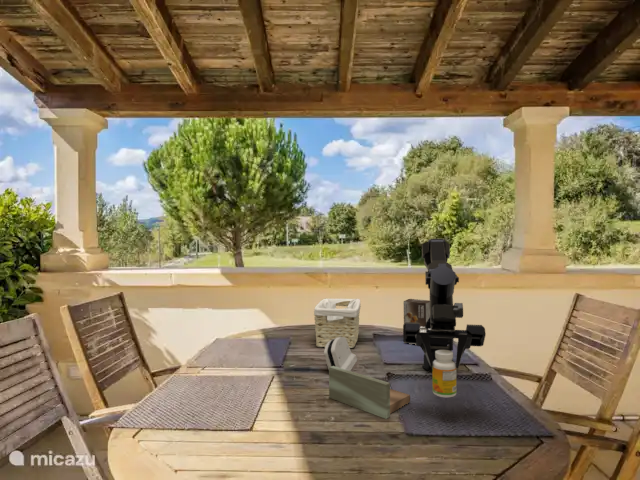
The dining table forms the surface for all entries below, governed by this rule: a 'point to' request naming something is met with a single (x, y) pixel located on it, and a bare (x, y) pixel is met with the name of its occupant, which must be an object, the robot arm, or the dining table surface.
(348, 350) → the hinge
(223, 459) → the dining table surface
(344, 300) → the storage basket
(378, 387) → the wall board ledge
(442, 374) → the supplement bottle
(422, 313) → the coffee box
